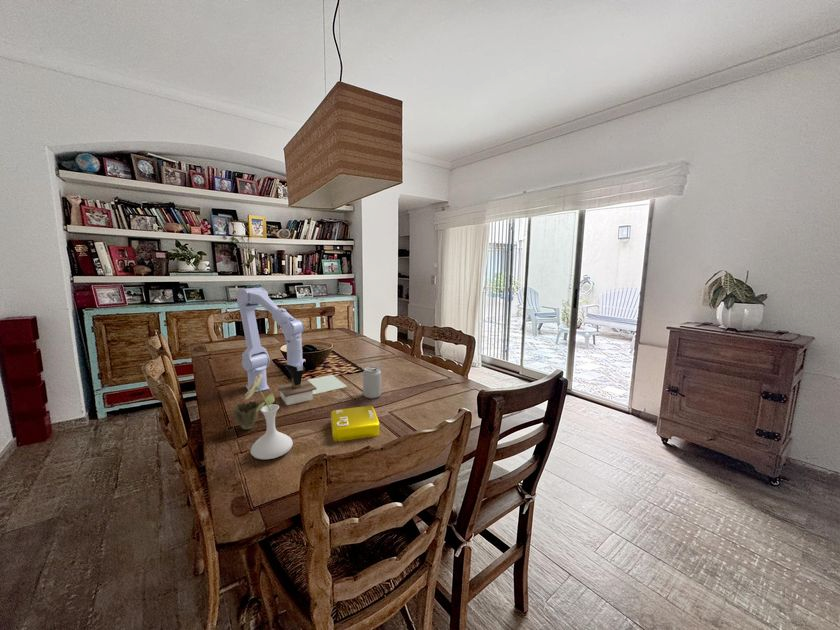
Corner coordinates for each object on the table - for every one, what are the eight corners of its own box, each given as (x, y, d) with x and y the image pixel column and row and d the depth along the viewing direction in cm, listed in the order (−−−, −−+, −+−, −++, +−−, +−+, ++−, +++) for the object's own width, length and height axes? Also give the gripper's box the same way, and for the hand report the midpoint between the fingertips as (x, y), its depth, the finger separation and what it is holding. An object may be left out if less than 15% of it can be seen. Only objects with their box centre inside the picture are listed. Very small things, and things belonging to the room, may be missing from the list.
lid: (277, 387, 133) (276, 377, 132) (306, 380, 140) (306, 371, 139) (285, 396, 123) (284, 386, 123) (316, 389, 131) (316, 379, 130)
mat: (299, 382, 150) (299, 381, 150) (332, 375, 160) (332, 374, 159) (311, 395, 136) (311, 394, 136) (347, 387, 145) (347, 386, 145)
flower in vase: (270, 438, 103) (265, 362, 99) (301, 445, 100) (297, 366, 96) (236, 462, 91) (229, 377, 86) (270, 470, 87) (264, 382, 83)
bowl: (280, 397, 134) (280, 388, 133) (305, 392, 139) (305, 383, 139) (287, 406, 126) (286, 396, 125) (312, 400, 131) (312, 390, 131)
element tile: (380, 436, 106) (380, 423, 105) (333, 443, 101) (332, 429, 101) (373, 415, 120) (372, 403, 119) (331, 421, 116) (330, 408, 115)
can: (377, 400, 132) (377, 372, 131) (360, 398, 134) (359, 370, 132) (383, 393, 140) (383, 366, 138) (366, 391, 141) (366, 364, 139)
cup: (233, 435, 104) (231, 412, 103) (236, 425, 111) (234, 403, 109) (259, 431, 107) (258, 408, 106) (260, 421, 114) (259, 399, 112)
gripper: (310, 353, 126) (311, 386, 128) (299, 345, 137) (300, 375, 139) (291, 356, 122) (293, 390, 124) (281, 347, 133) (283, 378, 135)
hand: (296, 382), depth 131 cm, fingers open, 4 cm apart
